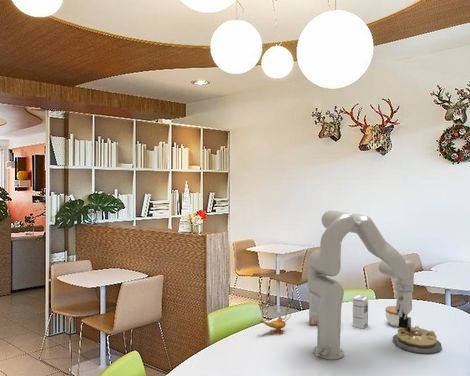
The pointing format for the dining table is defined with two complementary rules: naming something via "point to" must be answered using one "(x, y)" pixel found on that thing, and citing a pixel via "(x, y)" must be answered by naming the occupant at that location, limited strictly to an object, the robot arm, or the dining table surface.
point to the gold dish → (416, 336)
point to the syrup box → (360, 311)
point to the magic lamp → (277, 324)
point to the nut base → (417, 350)
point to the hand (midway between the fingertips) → (402, 327)
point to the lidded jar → (392, 316)
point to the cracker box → (313, 308)
